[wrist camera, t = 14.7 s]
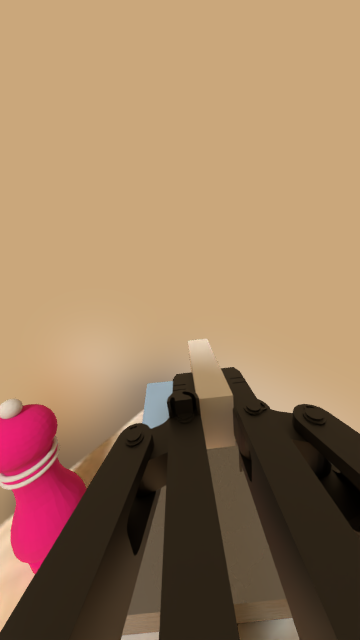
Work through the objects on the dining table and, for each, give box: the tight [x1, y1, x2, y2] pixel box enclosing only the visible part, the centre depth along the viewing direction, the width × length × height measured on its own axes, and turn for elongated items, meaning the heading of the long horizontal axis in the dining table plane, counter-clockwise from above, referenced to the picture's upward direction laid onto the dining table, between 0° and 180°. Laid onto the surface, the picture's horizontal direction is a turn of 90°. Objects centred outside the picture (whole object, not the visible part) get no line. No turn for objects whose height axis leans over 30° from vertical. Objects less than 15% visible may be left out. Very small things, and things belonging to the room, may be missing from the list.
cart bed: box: [122, 440, 293, 635], centre depth 21 cm, size 22×14×6 cm, turn 92°
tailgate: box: [142, 381, 173, 428], centre depth 34 cm, size 17×2×12 cm
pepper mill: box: [0, 399, 87, 574], centre depth 19 cm, size 7×7×20 cm
